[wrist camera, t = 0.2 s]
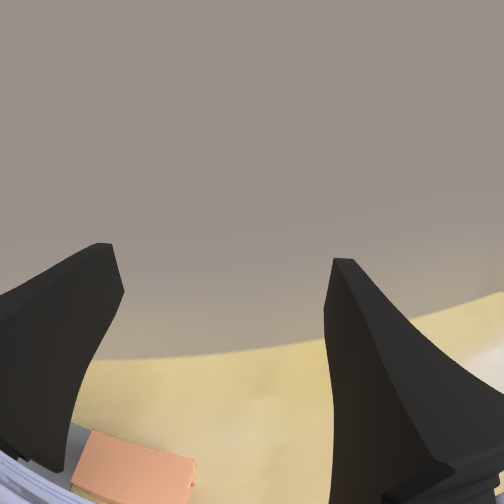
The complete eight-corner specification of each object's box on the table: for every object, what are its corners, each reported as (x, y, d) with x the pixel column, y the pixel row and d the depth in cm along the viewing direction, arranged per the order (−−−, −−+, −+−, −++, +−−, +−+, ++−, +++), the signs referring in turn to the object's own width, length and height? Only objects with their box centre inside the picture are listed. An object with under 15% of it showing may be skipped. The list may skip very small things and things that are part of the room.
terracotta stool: (190, 528, 16) (179, 521, 12) (99, 500, 16) (70, 481, 13) (201, 479, 20) (194, 459, 17) (115, 456, 20) (92, 429, 17)
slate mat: (49, 547, 10) (46, 547, 10) (-36, 482, 11) (-39, 480, 10) (93, 433, 22) (91, 431, 22) (11, 393, 23) (9, 390, 22)
